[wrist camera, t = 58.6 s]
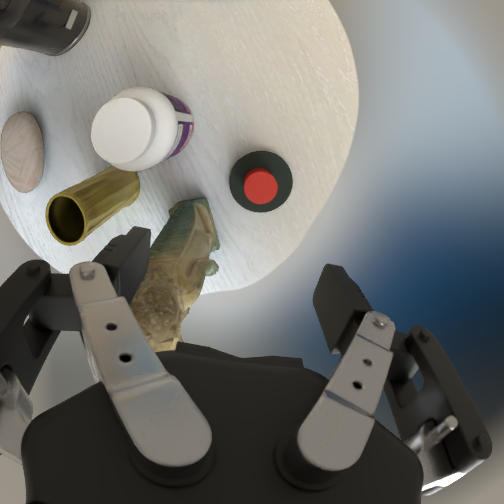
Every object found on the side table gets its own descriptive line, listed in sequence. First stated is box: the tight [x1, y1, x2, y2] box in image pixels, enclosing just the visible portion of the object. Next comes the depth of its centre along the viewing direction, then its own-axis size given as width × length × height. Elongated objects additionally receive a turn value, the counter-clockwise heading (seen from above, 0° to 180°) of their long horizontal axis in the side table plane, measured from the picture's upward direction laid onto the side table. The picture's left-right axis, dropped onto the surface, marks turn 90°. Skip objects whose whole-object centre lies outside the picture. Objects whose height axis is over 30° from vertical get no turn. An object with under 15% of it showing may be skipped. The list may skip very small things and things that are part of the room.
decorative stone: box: [0, 112, 44, 193], centre depth 28 cm, size 13×9×5 cm
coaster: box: [230, 151, 293, 212], centre depth 35 cm, size 8×8×1 cm
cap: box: [244, 168, 278, 204], centre depth 33 cm, size 4×4×3 cm
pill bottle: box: [91, 87, 194, 172], centre depth 25 cm, size 8×8×14 cm
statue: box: [129, 198, 220, 352], centre depth 26 cm, size 7×8×25 cm
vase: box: [46, 166, 140, 246], centre depth 28 cm, size 6×6×14 cm
